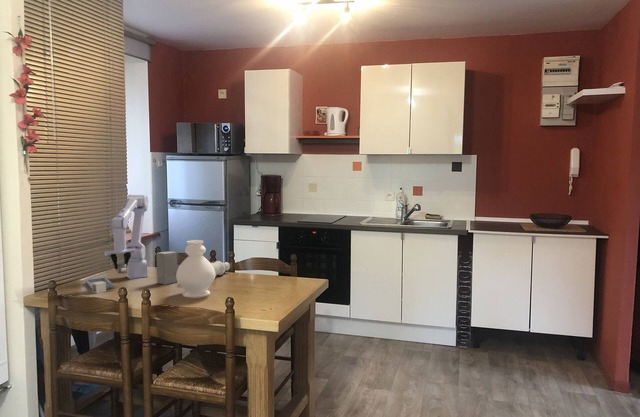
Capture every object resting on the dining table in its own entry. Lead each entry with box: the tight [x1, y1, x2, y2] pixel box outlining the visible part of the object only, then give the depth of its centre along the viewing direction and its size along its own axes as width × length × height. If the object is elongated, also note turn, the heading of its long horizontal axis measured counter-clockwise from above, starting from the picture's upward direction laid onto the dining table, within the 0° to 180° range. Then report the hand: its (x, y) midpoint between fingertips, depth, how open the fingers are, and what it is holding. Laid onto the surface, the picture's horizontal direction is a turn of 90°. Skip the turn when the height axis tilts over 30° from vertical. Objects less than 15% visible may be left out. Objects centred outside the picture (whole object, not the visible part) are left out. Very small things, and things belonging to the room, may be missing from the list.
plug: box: [115, 261, 128, 274], centre depth 255 cm, size 12×4×4 cm, turn 35°
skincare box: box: [156, 250, 178, 286], centre depth 261 cm, size 8×7×16 cm
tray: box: [85, 277, 114, 290], centre depth 255 cm, size 17×9×2 cm, turn 35°
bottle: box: [210, 260, 231, 277], centre depth 272 cm, size 9×9×30 cm
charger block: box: [91, 281, 107, 294], centre depth 244 cm, size 5×4×4 cm
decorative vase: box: [176, 239, 216, 299], centre depth 239 cm, size 18×18×25 cm
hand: (120, 268), depth 256 cm, fingers closed on plug, 4 cm apart
